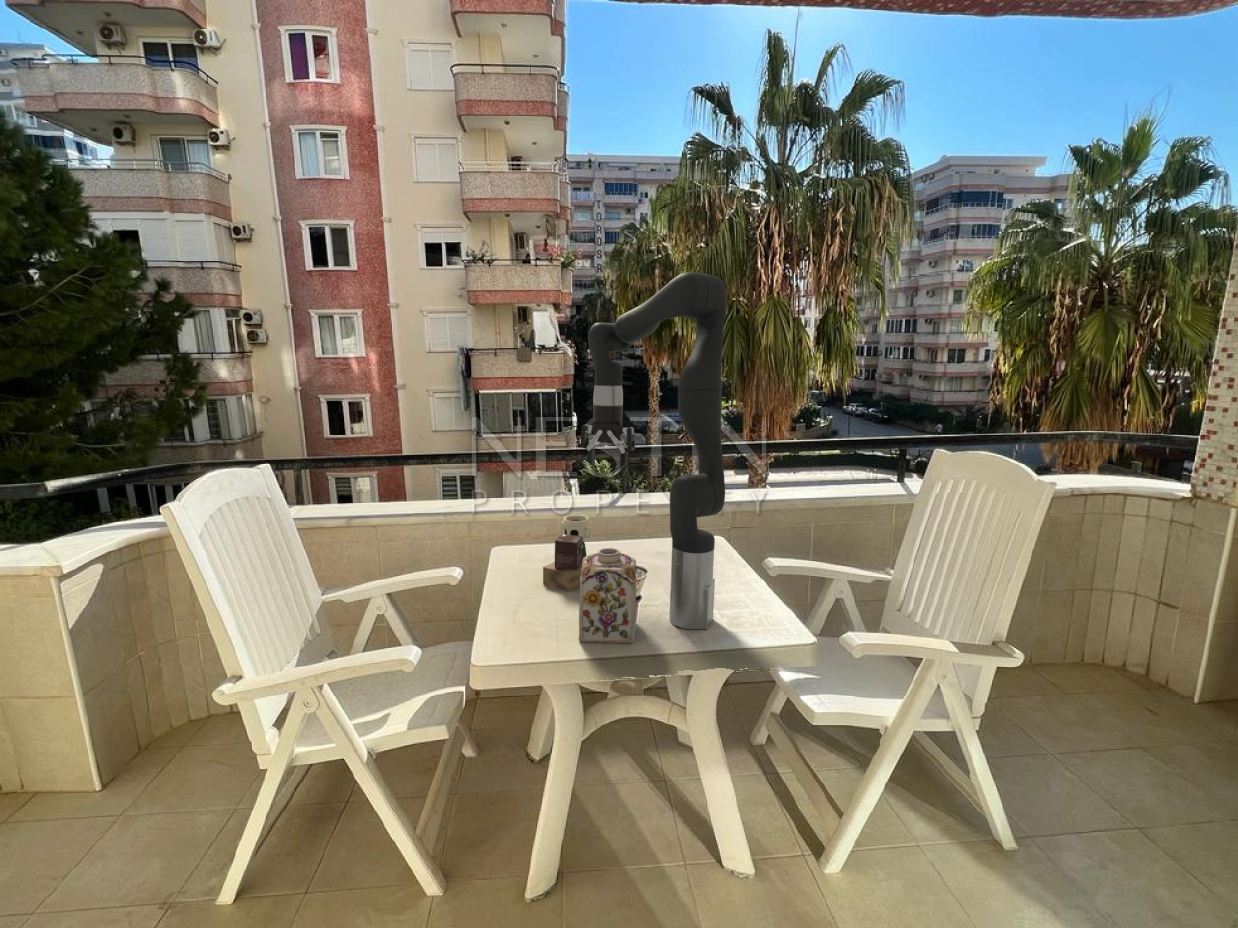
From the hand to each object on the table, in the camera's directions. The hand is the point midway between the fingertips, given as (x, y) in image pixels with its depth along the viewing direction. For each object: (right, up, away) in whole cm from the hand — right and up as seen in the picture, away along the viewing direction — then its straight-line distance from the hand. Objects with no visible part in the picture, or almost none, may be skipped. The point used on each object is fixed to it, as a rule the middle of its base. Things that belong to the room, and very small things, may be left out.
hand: (607, 465), depth 154 cm
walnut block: (-10, -31, 0) cm, 32 cm away
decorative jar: (+1, -36, -27) cm, 45 cm away
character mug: (-9, -28, +16) cm, 33 cm away
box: (-10, -26, -1) cm, 28 cm away
